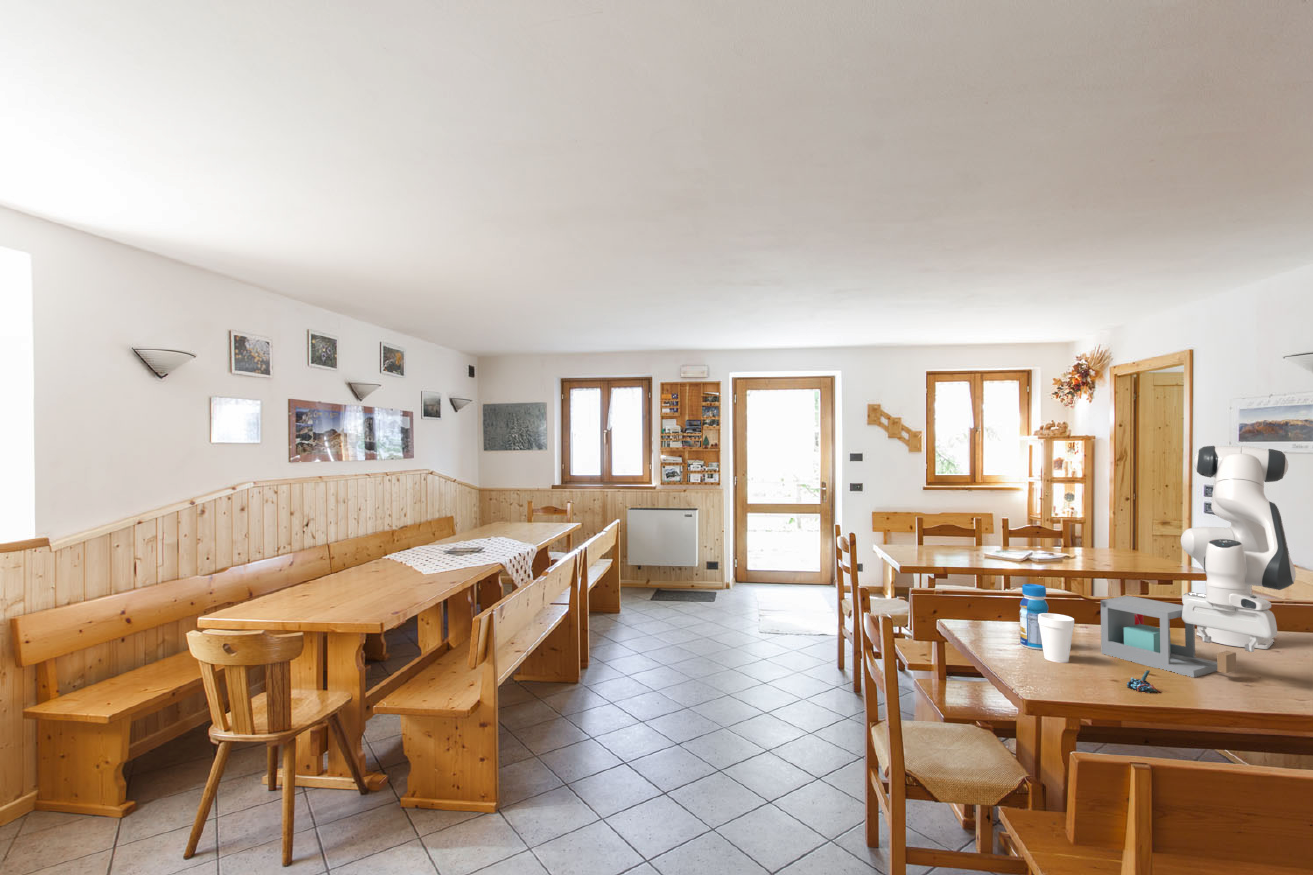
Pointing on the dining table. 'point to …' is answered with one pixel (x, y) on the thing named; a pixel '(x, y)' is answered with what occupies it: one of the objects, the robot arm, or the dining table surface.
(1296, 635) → the dining table surface
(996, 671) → the dining table surface
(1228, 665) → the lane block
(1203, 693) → the dining table surface
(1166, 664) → the shelf lane
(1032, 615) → the beverage bottle
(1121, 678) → the dining table surface
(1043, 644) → the foam cup
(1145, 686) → the blue bumpy stemmed lump
